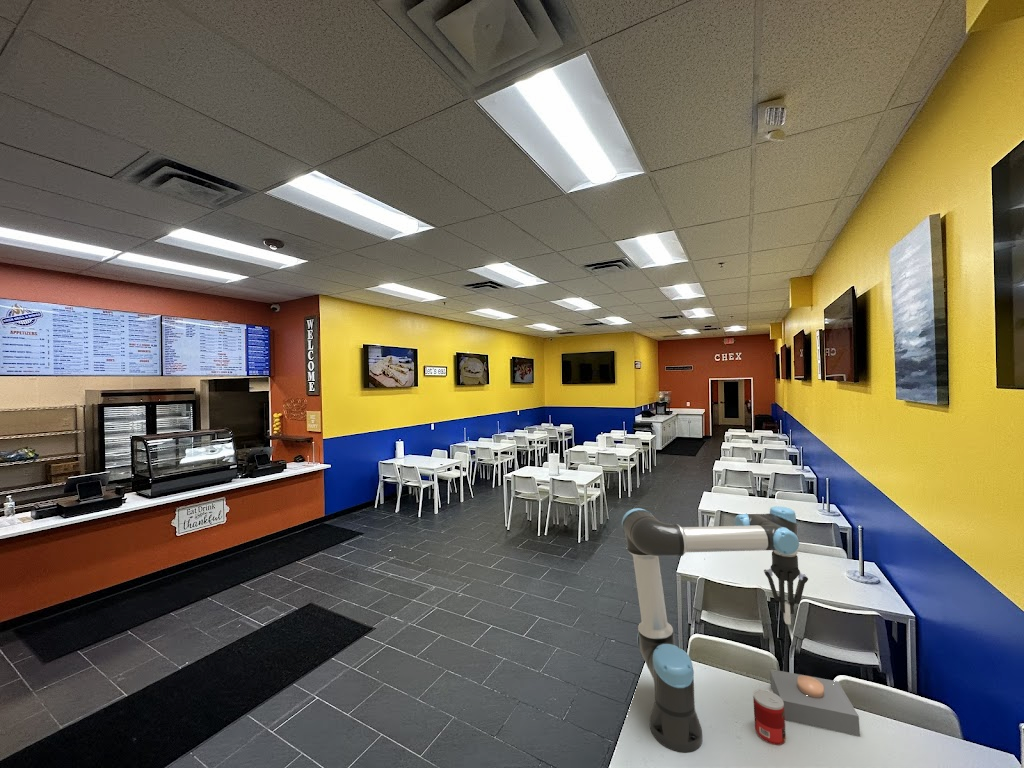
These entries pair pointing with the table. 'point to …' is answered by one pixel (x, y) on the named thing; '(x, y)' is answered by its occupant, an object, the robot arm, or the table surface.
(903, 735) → the table surface
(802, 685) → the knob
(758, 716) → the canned food
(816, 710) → the control box
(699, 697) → the table surface
